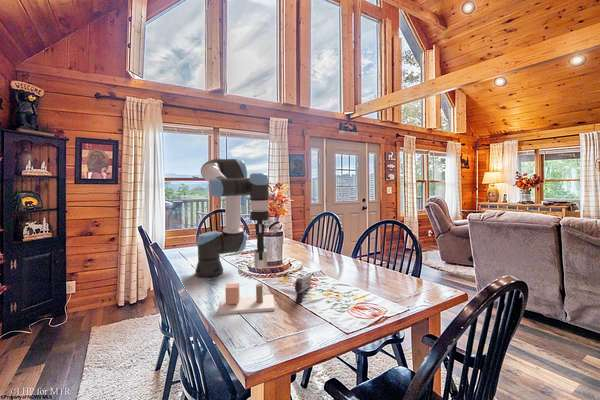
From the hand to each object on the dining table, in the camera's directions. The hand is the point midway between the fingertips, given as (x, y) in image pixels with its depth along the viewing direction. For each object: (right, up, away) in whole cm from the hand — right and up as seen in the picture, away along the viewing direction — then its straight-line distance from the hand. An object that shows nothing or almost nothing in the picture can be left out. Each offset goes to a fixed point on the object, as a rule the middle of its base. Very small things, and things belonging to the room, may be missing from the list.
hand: (260, 265), depth 126 cm
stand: (-5, -17, 0) cm, 18 cm away
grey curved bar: (+18, -16, +11) cm, 27 cm away
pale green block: (0, 0, 0) cm, 0 cm away
